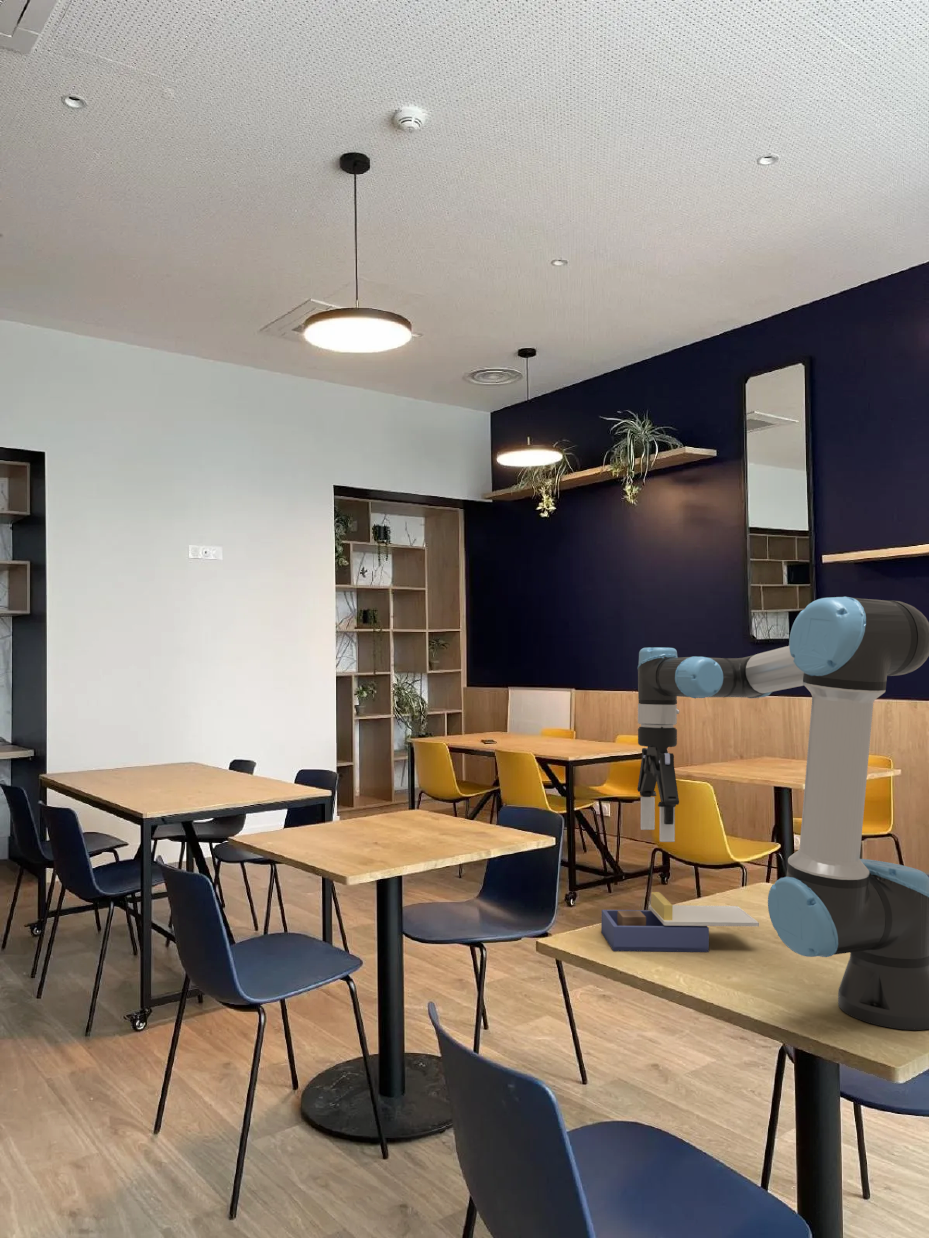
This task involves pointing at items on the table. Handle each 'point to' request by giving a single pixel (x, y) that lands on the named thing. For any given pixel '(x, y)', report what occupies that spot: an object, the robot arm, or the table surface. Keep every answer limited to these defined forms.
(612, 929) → the blue tray
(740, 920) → the lid
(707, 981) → the table surface
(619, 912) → the block
